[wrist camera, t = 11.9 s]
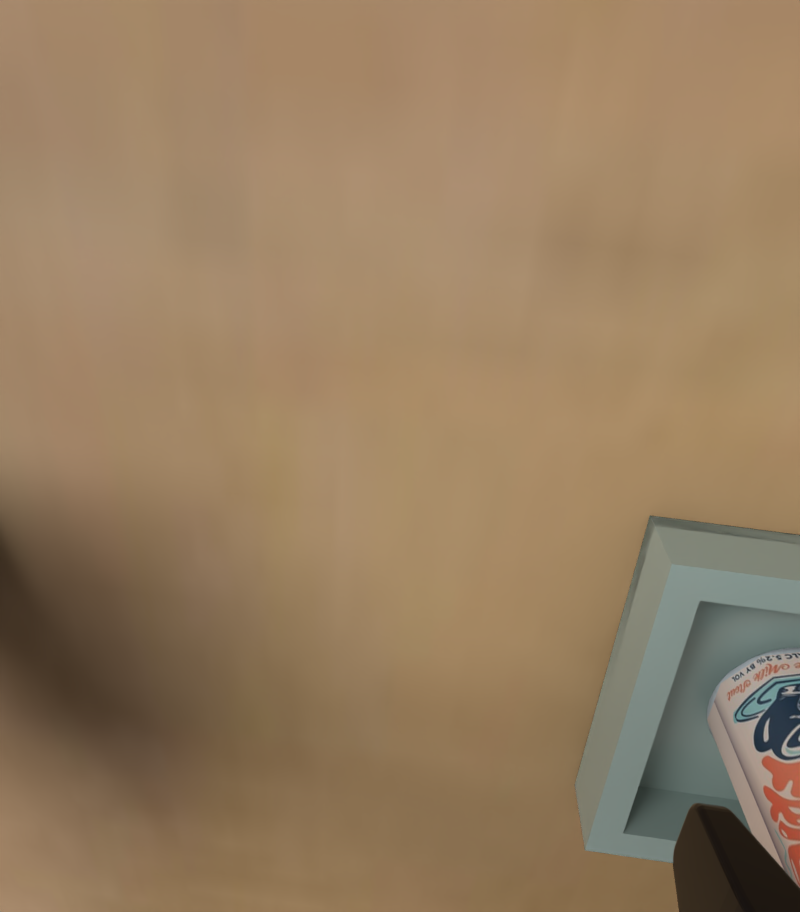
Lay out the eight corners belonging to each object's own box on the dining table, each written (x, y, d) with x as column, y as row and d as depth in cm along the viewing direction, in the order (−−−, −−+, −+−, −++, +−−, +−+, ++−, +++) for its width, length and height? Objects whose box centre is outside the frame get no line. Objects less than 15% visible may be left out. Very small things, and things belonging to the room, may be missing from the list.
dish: (574, 784, 26) (584, 850, 24) (650, 515, 22) (671, 564, 19) (889, 829, 26) (930, 900, 24) (1033, 565, 21) (1103, 620, 19)
